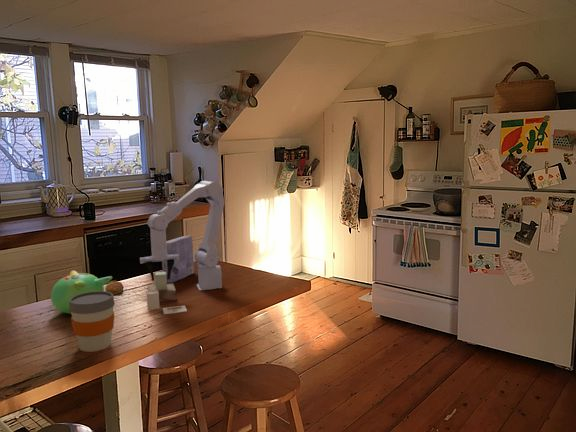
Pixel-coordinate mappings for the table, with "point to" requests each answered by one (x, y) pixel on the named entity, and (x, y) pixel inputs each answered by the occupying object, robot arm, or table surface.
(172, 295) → the taupe square block
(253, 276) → the table surface
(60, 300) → the green rounded plush
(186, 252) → the cake pan box
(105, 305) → the reusable coffee cup
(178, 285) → the table surface
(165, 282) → the sage block
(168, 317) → the table surface
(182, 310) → the card
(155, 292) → the cream block
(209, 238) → the robot arm
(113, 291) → the pastry
